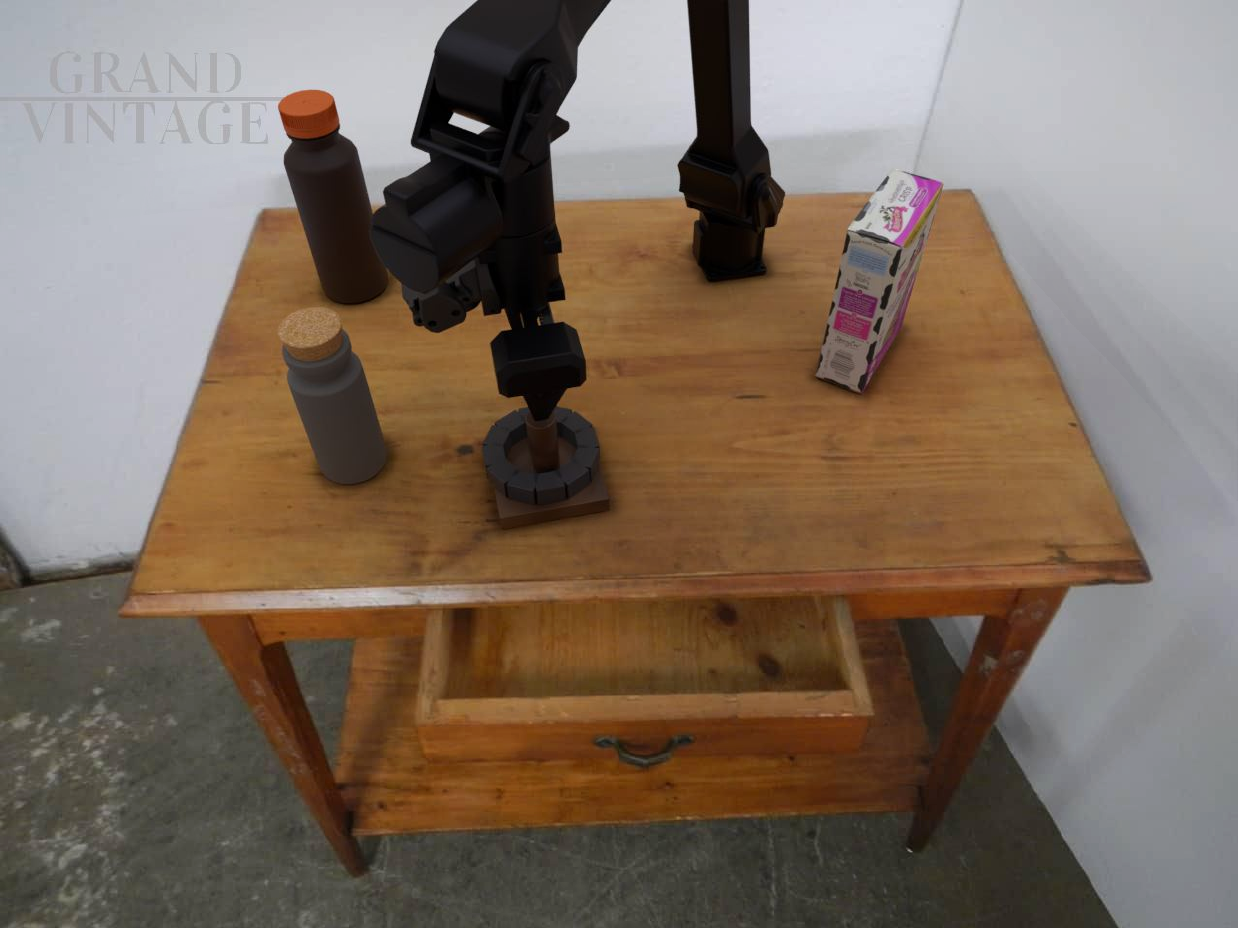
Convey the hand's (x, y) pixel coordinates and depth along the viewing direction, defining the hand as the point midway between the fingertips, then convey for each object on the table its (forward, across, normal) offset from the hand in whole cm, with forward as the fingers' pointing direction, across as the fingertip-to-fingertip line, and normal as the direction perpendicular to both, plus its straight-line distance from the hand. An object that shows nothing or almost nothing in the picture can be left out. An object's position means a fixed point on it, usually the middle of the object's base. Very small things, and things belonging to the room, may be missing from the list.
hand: (531, 379), depth 76 cm
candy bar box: (+8, -5, +32) cm, 33 cm away
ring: (+6, +3, 0) cm, 7 cm away
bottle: (+8, -2, -16) cm, 18 cm away
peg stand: (+8, +4, 0) cm, 9 cm away
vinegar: (+8, -27, -15) cm, 32 cm away
